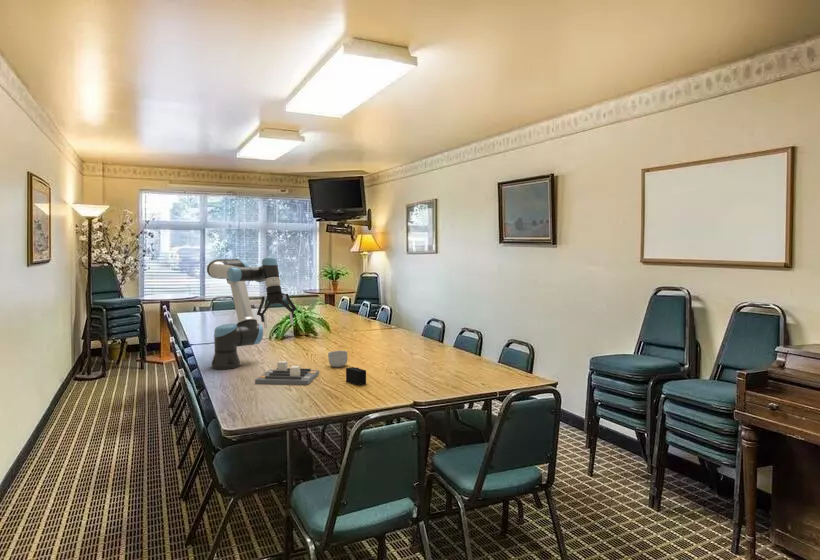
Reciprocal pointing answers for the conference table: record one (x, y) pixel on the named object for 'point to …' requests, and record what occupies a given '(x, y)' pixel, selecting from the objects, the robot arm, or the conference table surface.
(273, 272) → the robot arm
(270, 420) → the conference table surface
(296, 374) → the slider near
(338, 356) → the teacup
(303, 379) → the switch base
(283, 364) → the slider far
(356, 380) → the digital camera
